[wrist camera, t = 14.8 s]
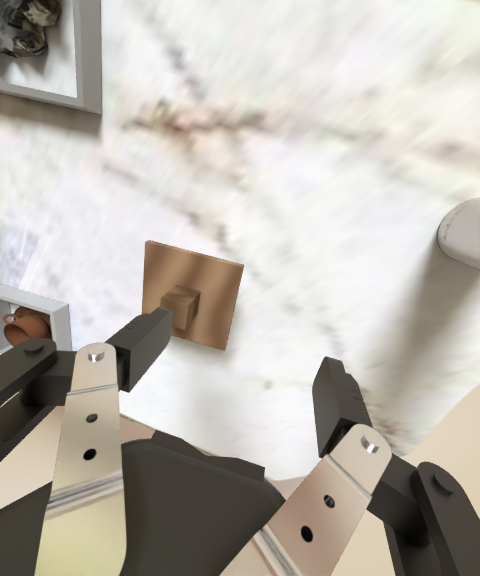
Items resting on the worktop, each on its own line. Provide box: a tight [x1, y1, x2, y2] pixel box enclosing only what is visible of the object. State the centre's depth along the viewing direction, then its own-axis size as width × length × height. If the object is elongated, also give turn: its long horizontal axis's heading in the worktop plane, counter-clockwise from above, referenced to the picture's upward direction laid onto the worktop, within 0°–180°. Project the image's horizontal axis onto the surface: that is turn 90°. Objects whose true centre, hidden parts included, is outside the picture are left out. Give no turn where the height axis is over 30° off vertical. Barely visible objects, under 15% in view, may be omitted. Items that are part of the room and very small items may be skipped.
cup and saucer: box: [2, 306, 53, 347], centre depth 59 cm, size 12×12×6 cm
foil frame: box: [0, 0, 102, 115], centre depth 36 cm, size 21×19×4 cm
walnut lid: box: [142, 240, 244, 350], centre depth 37 cm, size 15×15×6 cm
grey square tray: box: [0, 284, 72, 354], centre depth 60 cm, size 18×18×4 cm
